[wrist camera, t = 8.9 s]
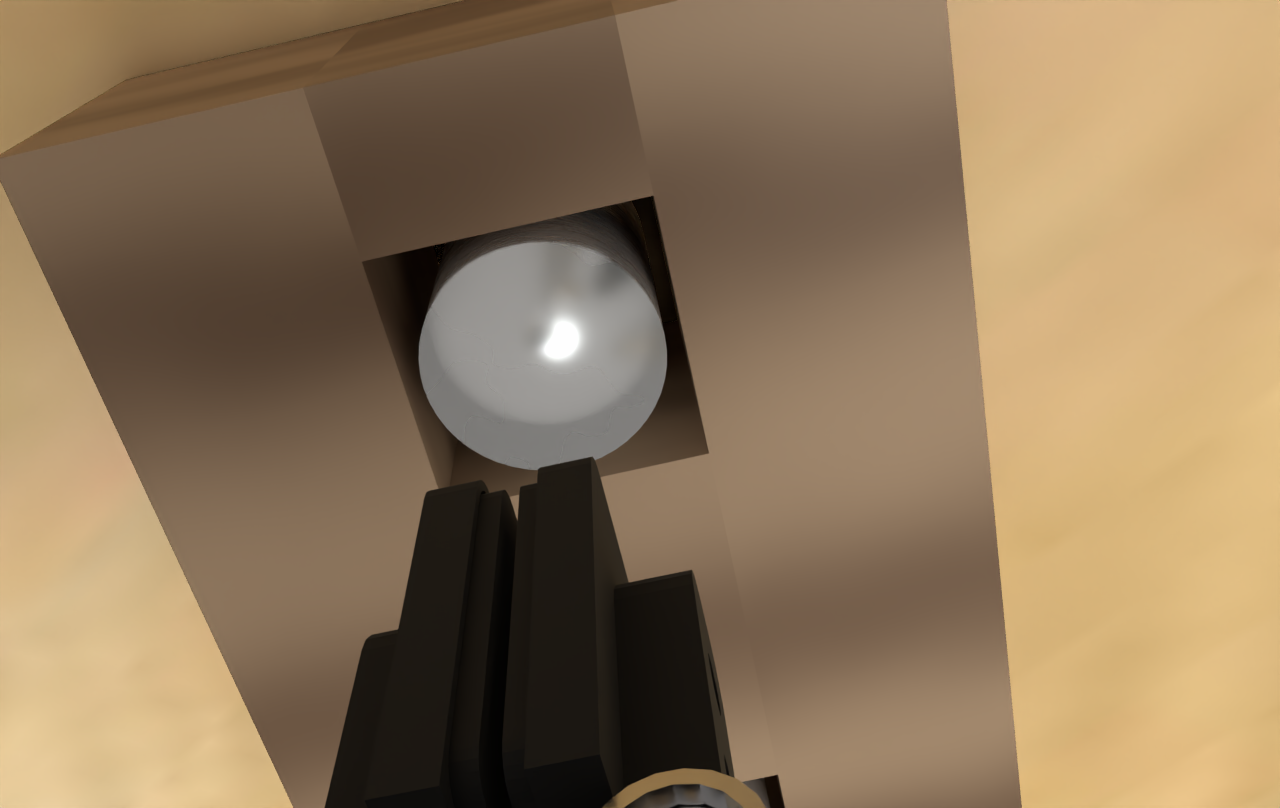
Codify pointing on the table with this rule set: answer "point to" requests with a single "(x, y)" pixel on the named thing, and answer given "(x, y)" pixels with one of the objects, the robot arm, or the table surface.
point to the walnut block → (696, 343)
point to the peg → (546, 338)
